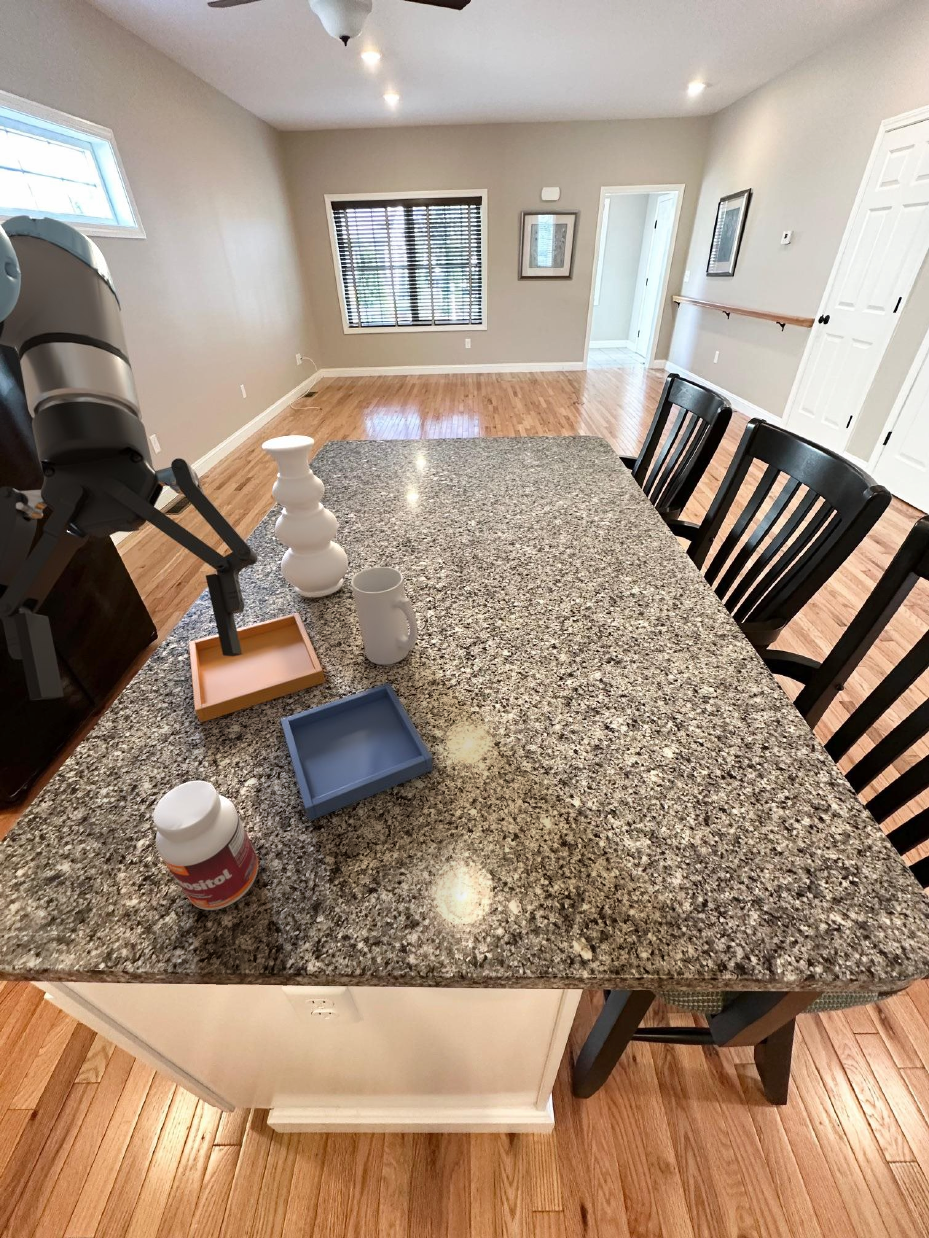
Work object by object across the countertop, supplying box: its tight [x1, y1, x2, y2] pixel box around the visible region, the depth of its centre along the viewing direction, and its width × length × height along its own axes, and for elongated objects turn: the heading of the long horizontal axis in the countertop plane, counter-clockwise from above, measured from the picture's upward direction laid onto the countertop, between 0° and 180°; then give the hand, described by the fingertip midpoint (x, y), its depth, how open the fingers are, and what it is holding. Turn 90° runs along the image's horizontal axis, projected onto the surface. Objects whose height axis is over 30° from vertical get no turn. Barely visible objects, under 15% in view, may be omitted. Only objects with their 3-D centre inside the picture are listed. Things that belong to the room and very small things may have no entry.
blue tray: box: [280, 682, 434, 822], centre depth 58 cm, size 14×14×2 cm
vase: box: [261, 435, 349, 598], centre depth 82 cm, size 11×11×25 cm
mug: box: [350, 566, 419, 666], centre depth 69 cm, size 10×7×12 cm, turn 49°
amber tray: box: [188, 612, 326, 723], centre depth 71 cm, size 16×16×2 cm
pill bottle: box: [152, 780, 259, 911], centre depth 44 cm, size 6×6×11 cm
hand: (143, 676), depth 40 cm, fingers open, 13 cm apart
